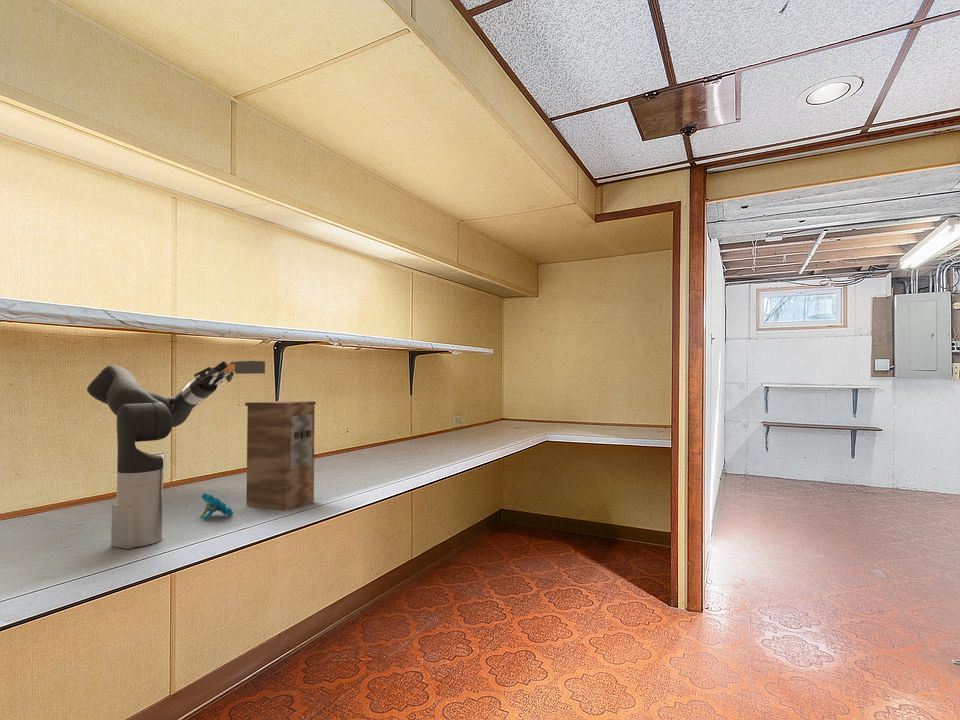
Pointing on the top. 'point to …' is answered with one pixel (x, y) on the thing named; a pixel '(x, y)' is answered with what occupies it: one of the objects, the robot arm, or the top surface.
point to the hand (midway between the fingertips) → (229, 363)
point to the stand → (280, 454)
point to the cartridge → (246, 367)
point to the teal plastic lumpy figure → (214, 506)
